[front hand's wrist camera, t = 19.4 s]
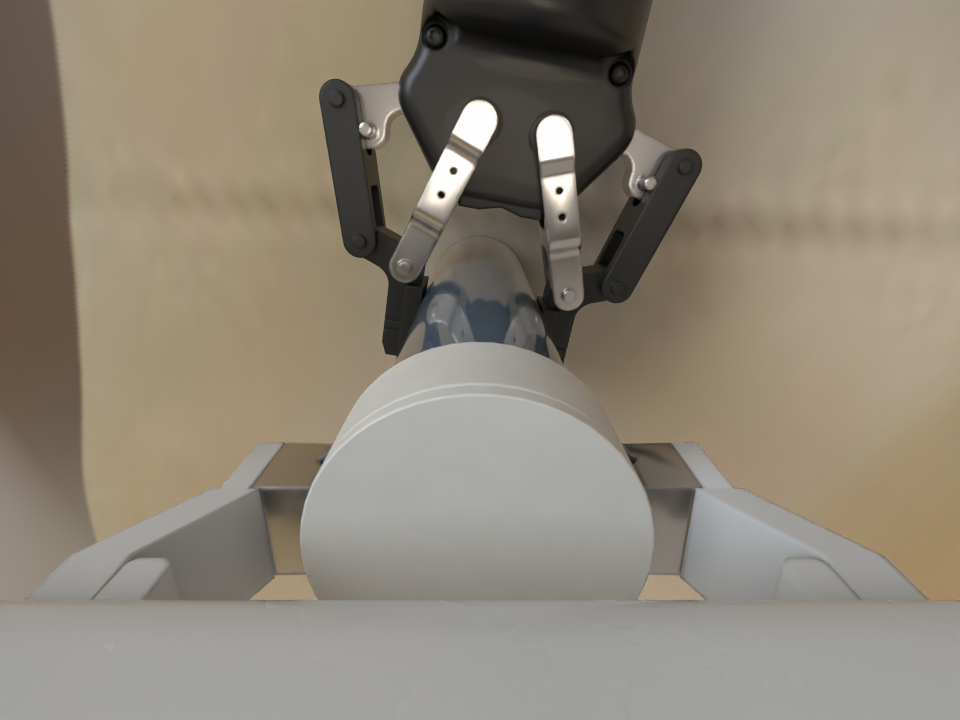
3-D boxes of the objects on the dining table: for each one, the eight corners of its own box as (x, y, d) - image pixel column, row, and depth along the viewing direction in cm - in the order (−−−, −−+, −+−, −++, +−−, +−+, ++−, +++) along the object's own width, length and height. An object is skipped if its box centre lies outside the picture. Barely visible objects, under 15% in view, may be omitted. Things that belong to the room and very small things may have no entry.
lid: (292, 387, 10) (236, 453, 7) (582, 302, 9) (616, 346, 7) (396, 605, 11) (376, 709, 9) (641, 546, 11) (682, 642, 9)
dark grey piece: (531, 243, 27) (648, 418, 8) (515, 329, 28) (581, 639, 10) (441, 229, 26) (348, 374, 8) (430, 316, 28) (331, 608, 9)
